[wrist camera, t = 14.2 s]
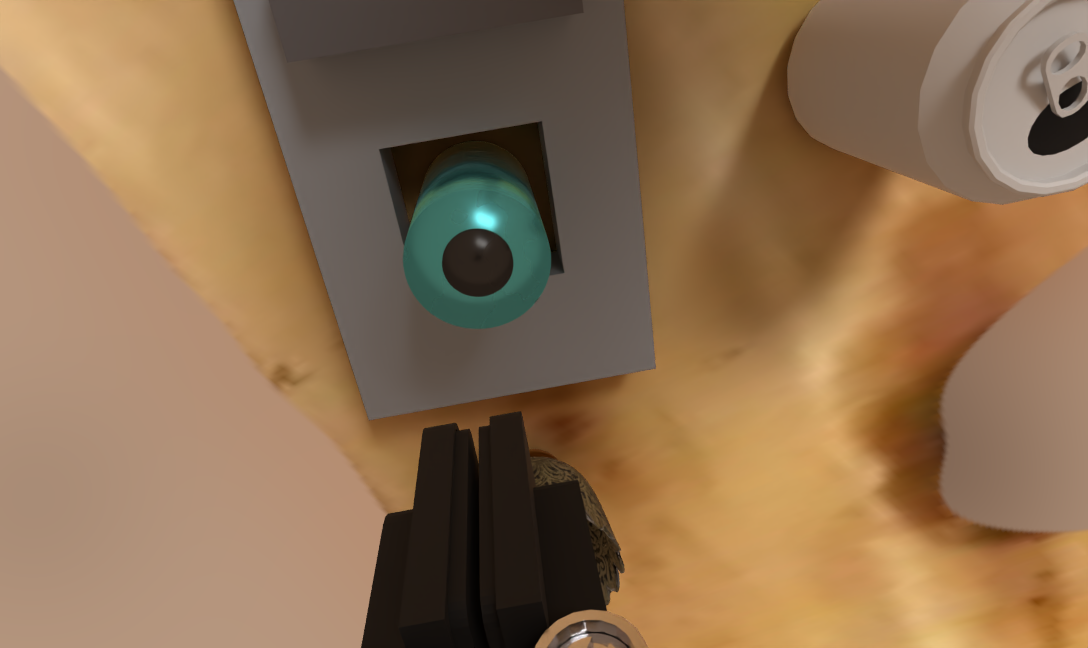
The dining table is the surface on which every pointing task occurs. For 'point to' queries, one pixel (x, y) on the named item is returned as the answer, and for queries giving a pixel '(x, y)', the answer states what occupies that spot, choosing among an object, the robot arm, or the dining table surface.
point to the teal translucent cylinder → (476, 239)
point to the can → (950, 91)
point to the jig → (445, 111)
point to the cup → (600, 531)
